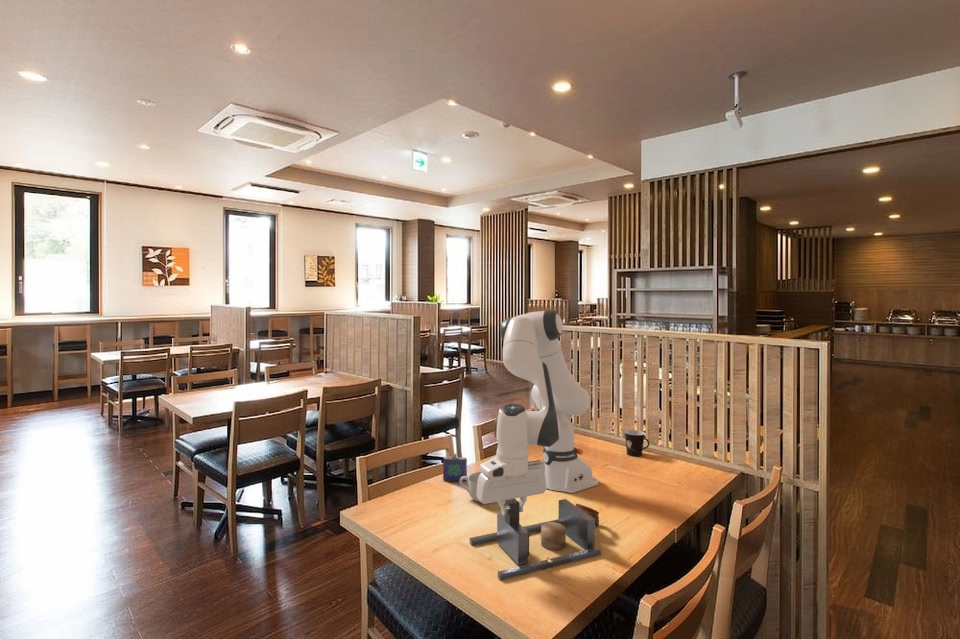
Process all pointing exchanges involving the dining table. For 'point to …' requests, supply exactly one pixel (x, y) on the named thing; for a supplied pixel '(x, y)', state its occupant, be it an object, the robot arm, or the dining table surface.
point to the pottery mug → (590, 512)
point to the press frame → (577, 529)
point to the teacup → (471, 484)
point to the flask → (454, 468)
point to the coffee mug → (635, 442)
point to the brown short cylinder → (553, 536)
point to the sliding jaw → (513, 533)
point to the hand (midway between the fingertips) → (512, 513)
